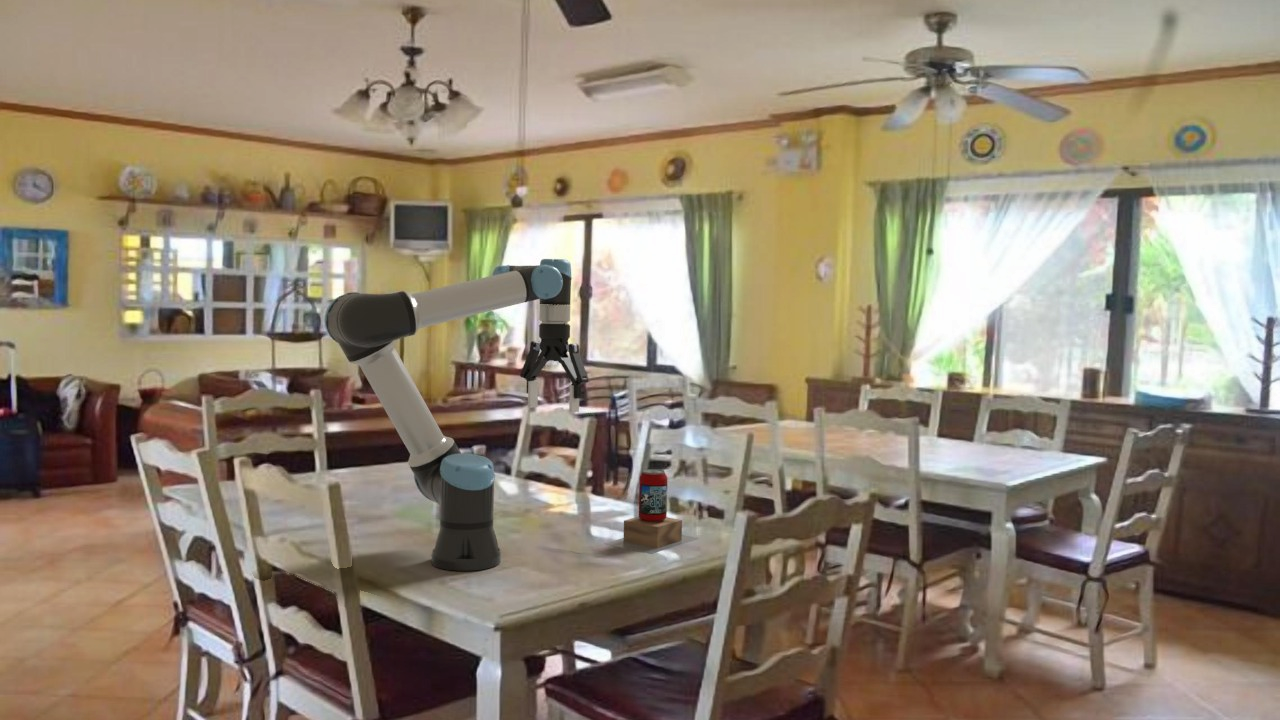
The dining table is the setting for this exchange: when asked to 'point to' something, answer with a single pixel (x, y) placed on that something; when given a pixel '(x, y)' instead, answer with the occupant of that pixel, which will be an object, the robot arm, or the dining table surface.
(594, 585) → the dining table surface
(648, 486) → the beverage can
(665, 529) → the walnut block
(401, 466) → the dining table surface
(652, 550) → the flat plate
